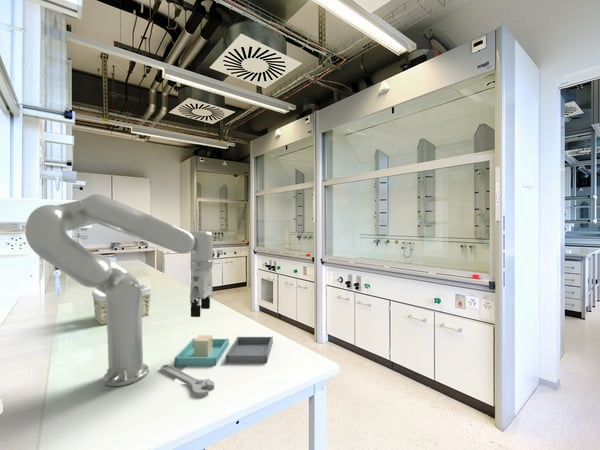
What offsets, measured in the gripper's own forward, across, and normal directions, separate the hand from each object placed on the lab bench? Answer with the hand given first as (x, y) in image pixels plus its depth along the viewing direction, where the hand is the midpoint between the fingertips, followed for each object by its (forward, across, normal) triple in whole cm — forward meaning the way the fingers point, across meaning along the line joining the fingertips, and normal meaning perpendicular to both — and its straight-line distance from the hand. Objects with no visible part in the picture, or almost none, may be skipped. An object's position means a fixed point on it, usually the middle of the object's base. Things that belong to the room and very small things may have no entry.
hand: (200, 312), depth 108 cm
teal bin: (+16, +1, -1) cm, 16 cm away
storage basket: (+17, +43, +56) cm, 72 cm away
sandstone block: (+15, +1, -1) cm, 15 cm away
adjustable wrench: (+17, -15, -2) cm, 23 cm away
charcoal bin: (+16, +3, -18) cm, 24 cm away
